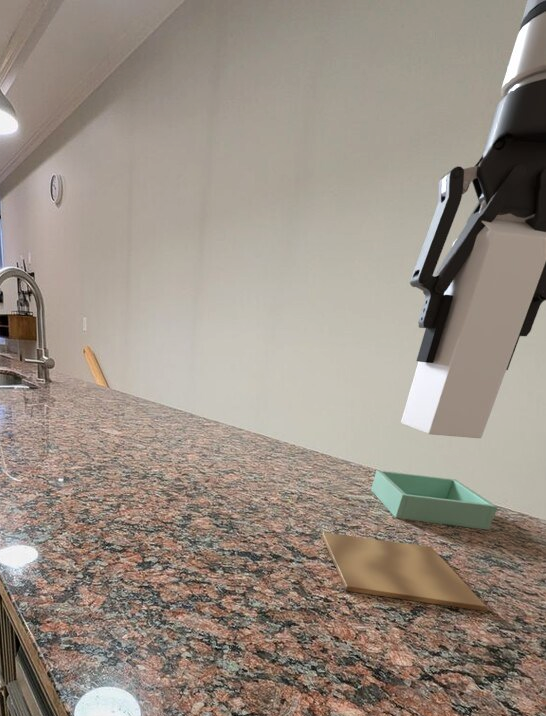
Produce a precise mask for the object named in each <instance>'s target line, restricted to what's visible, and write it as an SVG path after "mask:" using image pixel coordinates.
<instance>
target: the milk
mask: <svg viewBox="0 0 546 716" xmlns="http://www.w3.org/2000/svg"><path fill="white" fill-rule="evenodd" d="M486 206H487V205H486V201H485V200H484V201H483V203H482V205H481V208H480V211H481V210H482V209H484V208H485V207H486ZM480 211H479V213H480ZM534 215H535V214H533V215H531V216H528V217H525V218H522V217H516V216H514V215H512V214H504V215H497V216H496V218H495V219H494V220H493V221H492V222H487V221H481V222H482V223H483V224H484V225H485V227H484V228H483V229H482V230H481V231H480V232H479V234H478V235H477V237H476V241H475V244H474V247H473V250H472V252H471V253H470V255H469V256H468V258H467V260H466V261H465V263H464V264H463V266H462V267H461V269H460V270H459V272H458V273H457V275H456V276H455V278H454V280H453V281H452V283H451V284H450V286H449V287H448V289H447V290H446V291H445V293H444V295H454V296H453V300H452V303H451V306H450V310H449V313H448V316H447V319H446V323H445V326H444V329H443V333H442V336H441V339H440V343H439V346H438V349H437V352H436V356H435V359H434V362H433V363H426V362H419V361H417V366H416V369H415V373H414V376H413V378H412V383H411V386H410V390H409V393H408V396H407V400H406V402H405V407H404V410H403V414H402V416H401V417H402V418H401V420H400V424H401V425H404V426H406V427H409V428H412V429H414V430H416V431H417V430H418V431H420V432H422V433H424V434H427V435H431V436H432V435H433V436H443V437H444V436H446V437H457V438H469V439H470V438H471V439H482V437H483V435H484V432H485V430H486V427H487V424H488V421H489V419H490V416H491V413H492V410H493V407H494V405H495V402H496V399H497V396H498V394H499V391H500V389H501V385H502V383H503V380H504V377H505V375H506V373H507V372H506V371H507V370H506V369H507V366H508V364H509V361H510V358H511V355H512V353H513V350H514V347H515V344H516V342H517V339H518V336H519V334H520V331H521V328H522V325H523V323H524V320H525V317H526V314H527V312H528V309H529V306H530V303H531V301H532V298H533V295H534V292H535V290H536V287H537V284H538V281H539V279H540V276H541V273H542V270H543V268H544V265H545V262H546V232H542V231H537V230H534V229H533V228H532V227H530V226H529V225H528V224H527V223H526V222H525V220H527V219H529V218H532V217H534ZM456 240H457V238H456V239H455V240H454V241H453V242H452V246H453V245H454V243H455V241H456ZM452 246H451V247H452Z"/></svg>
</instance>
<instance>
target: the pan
mask: <svg viewBox="0 0 546 716" xmlns="http://www.w3.org/2000/svg"><path fill="white" fill-rule="evenodd" d="M370 491H371V492H372V493H373V494H374V495H375V496H376V497H377V498H378V500H379V501H380V502H381V503H382V504H383V506H384V507H385V508H386V509H387V510H388V511H389V512H390V513H391V515H392V516H393V517H394V518H395V519H401V520H402V519H403V520H407V521H408V520H409V521H415V522H416V521H417V522H426V523H432V524H438V525H439V524H441V525H446V526H447V525H449V526H456V527H463V528H471V529H479V530H486V531H489V530H490V527H491V525H492V522H493V520H494V517H495V515H496V513H497V510H498V506H497V505H496V504H494V503H493V502H492V501H489V500H488V499H486V498H485V497H483V496H482V495H481V494H479V493H477V492H476V491H474V490H473V489H471V488H469V487H468V486H467V485H465V484H464V483H462V482H461V481H459V480H457V479H455V478H446V477H438V476H429V475H420V474H414V473H403V472H395V471H388V470H387V471H386V470H379V469H376V470H375V473H374V478H373V481H372V485H371V488H370Z"/></svg>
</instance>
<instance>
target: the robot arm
mask: <svg viewBox="0 0 546 716" xmlns="http://www.w3.org/2000/svg"><path fill="white" fill-rule="evenodd" d="M512 49H513V50H512V53H511V56H510V58H509V62H508V64H507V67H506V70H505V75H504V79H503V81H502V85H501V88H500V96H501V97H502V98H501V99H500V100H499V101H498V103H496V106H495V110H494V113H493V117H492V119H491V123H490V126H489V130H488V134H487V138H486V141H485V144H484V147H483V152H482V156H481V157H480V159H479V160H478V161H477V163H476V164H475V165H474V166H471V167H470V166H469V167H466V168H463V167H462V166H455V167H453V168H452V169H451V170H449V171H448V172H446V174H444V175H443V176H442V177H441V178H440V180H439V181H438V197H437V205H436V207H435V211H434V213H433V216H432V220H431V222H430V225H429V227H428V230H427V233H426V236H425V238H424V241H423V244H422V247H421V250H420V252H419V254H418V258H417V261H416V263H415V266H414V269H413V271H412V275H411V277H410V281H409V284H410V286H411V287H413V288H416V289H419V290H420V291H422V293H423V295H424V301H423V304H422V308H421V312H420V314H419V319H418V322H417V323H418V328H419V329H425V330H424V333H423V336H422V340H421V344H420V347H419V351H418V354H417V357H416V362H426V363H433V362H434V359H435V356H436V352H437V349H438V346H439V343H440V339H441V336H442V333H443V329H444V326H445V323H446V319H447V316H448V313H449V310H450V306H451V303H452V300H453V296H454V295H444V293H445V291H446V290H447V289H448V287H449V286H450V284H451V283H452V281H453V280H454V278H455V276H456V275H457V273H458V272H459V270H460V269H461V267H462V266H463V264H464V263H465V261H466V260H467V258H468V256H469V255H470V253H471V252H472V250H473V247H474V244H475V241H476V237H477V235H478V234H479V232H480V231H481V230H482V229H483V228H484V227H485V225H484V224H483V223H482V222H481V221H487V222H492V221H493V220H494V219H495V218H496V216H497V215H504V214H512V215H514V216H516V217H522V218H525V217H528V216H531V215H533V214H535V215H534V217H532V218H529V219H527V220H525V222H526V223H527V224H528V225H529V226H530V227H532V228H533V229H534V230H537V231H542V232H546V0H527V1H526V4H525V8H524V11H523V15H522V19H521V23H520V27H519V30H518V33H517V36H516V39H515V42H514V46H513V48H512ZM471 183H472V186H473V189H474V192H475V195H476V197H477V200H478V202H477V204H476V205H475V207H474V209H473V210H472V212H471V213H470V215H469V217H468V218H467V220H466V223H465V226H464V227H463V229H462V230H461V232H460V233H459V235H458V237H457V238H456V239H457V240H456V239H455V240H456V241H455V240H454V241H455V243H454V245H453V244H452V245H453V246H451V248H450V249H449V251H448V253H447V254H446V256H445V258H444V259H443V260H442V262H441V264H440V265H439V267H438V268H437V265H438V262H439V260H440V257H441V255H442V252H443V249H444V247H445V244H446V242H447V239H448V236H449V234H450V231H451V228H452V226H453V223H454V220H455V217H456V215H457V212H458V210H459V208H460V205H461V202H462V199H463V195H464V194H466V193H467V191H468V190H469V187H470V184H471ZM484 200H485V201H486V205H487V206H486V207H485V208H484V209H482V210H481V211H480V208H481V205H482V203H483V201H484ZM479 211H480V213H479ZM436 268H437V270H436ZM435 270H436V272H435ZM544 301H546V262H545V265H544V268H543V270H542V273H541V276H540V279H539V281H538V284H537V287H536V290H535V292H534V295H533V298H532V301H531V303H530V306H529V309H528V312H527V314H526V317H525V320H524V323H523V325H522V328H521V331H520V334H519V336H518V339H517V342H516V344H515V347H514V350H513V353H512V355H511V358H510V361H509V364H508V366H507V369H506V371H508V370H509V368H510V365H511V362H512V360H513V356H514V353H515V351H516V348H517V346H518V343H519V341H520V337H528V335H529V334H530V332H531V331H532V329H533V326H534V323H535V320H536V318H537V315H538V312H539V310H540V307H541V305H542V303H543V302H544Z"/></svg>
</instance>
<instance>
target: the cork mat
mask: <svg viewBox="0 0 546 716" xmlns="http://www.w3.org/2000/svg"><path fill="white" fill-rule="evenodd" d="M321 538H322V540H323V542H324V545H325V547H326V548H327V551H328V554H329V556H330V559H331V561H332V563H333V565H334V567H336V568H335V570H336V573H337V574H338V577H339V579H340V581H341V583H342V586H343V588H344V591H346V592H352V593H359V594H366V595H370V596H371V595H373V596H379V597H385V598H392V599H399V600H405V601H406V600H407V601H413V602H419V603H425V604H434V605H439V606H446V607H452V608H459V609H465V610H466V609H467V610H473V611H480V612H486V610H487V608H488V606H487V605H486V604H485V603H484V602H483V601H482V600H481V599H480V598H479V596H478V595H477V594H476V593H475V592H474V591H473V590H472V589H471V588H470V587H469V586H468V585H467V584H466V583H465V581H464V580H463V579H462V578H461V577H460V576H459V575H458V574H457V573H456V571H455V570H453V568H452V567H451V566H450V565H449V564H448V563H447V562H446V561H445V560H444V559H443V558H442V557H441V556H440V554H439V553H437V550H435V549H434V548H433V547H432V546H426V545H419V544H413V543H412V544H411V543H404V542H397V541H389V540H382V539H377V538H376V539H375V538H368V537H360V536H353V535H345V534H339V533H331V532H322V533H321Z"/></svg>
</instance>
